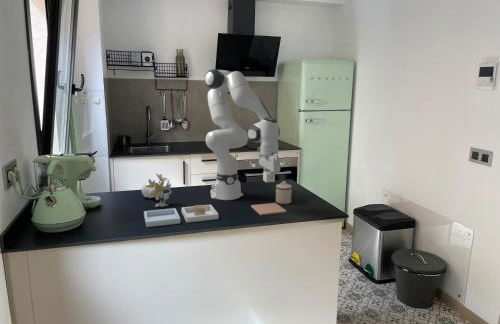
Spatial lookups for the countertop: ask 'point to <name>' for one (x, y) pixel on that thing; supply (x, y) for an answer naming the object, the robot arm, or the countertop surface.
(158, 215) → the blue grey tray
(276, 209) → the terracotta tile
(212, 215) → the grey tray
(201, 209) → the plain oak block
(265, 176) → the letter cube
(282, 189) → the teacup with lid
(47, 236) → the countertop surface
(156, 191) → the flower vase
